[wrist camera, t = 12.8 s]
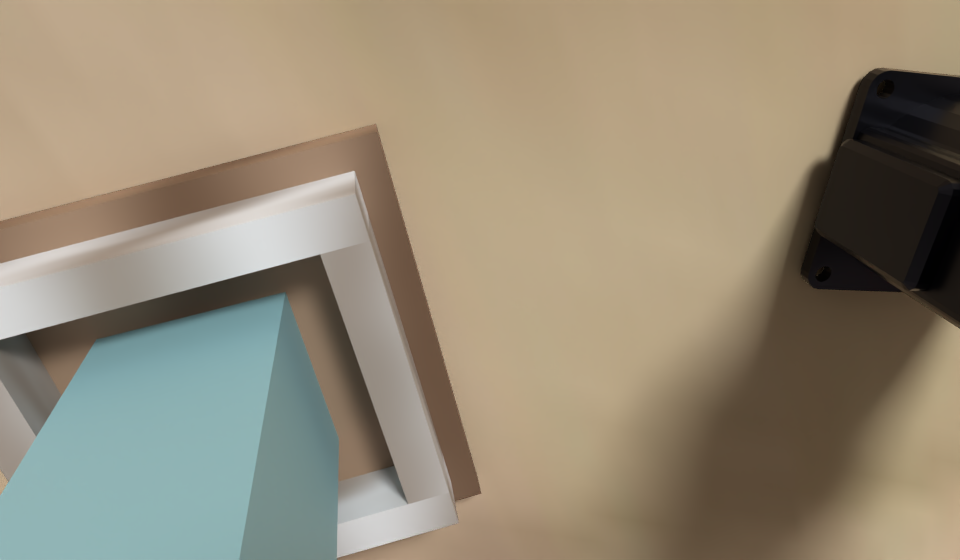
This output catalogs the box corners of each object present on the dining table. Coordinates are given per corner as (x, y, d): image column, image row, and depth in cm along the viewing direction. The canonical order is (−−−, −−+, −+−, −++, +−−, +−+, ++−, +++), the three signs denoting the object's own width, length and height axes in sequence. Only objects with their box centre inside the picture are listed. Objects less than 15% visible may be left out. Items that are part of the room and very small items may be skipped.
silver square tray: (376, 124, 19) (379, 151, 16) (477, 476, 24) (491, 535, 22) (-98, 246, 18) (-163, 293, 16) (115, 579, 24) (89, 650, 21)
